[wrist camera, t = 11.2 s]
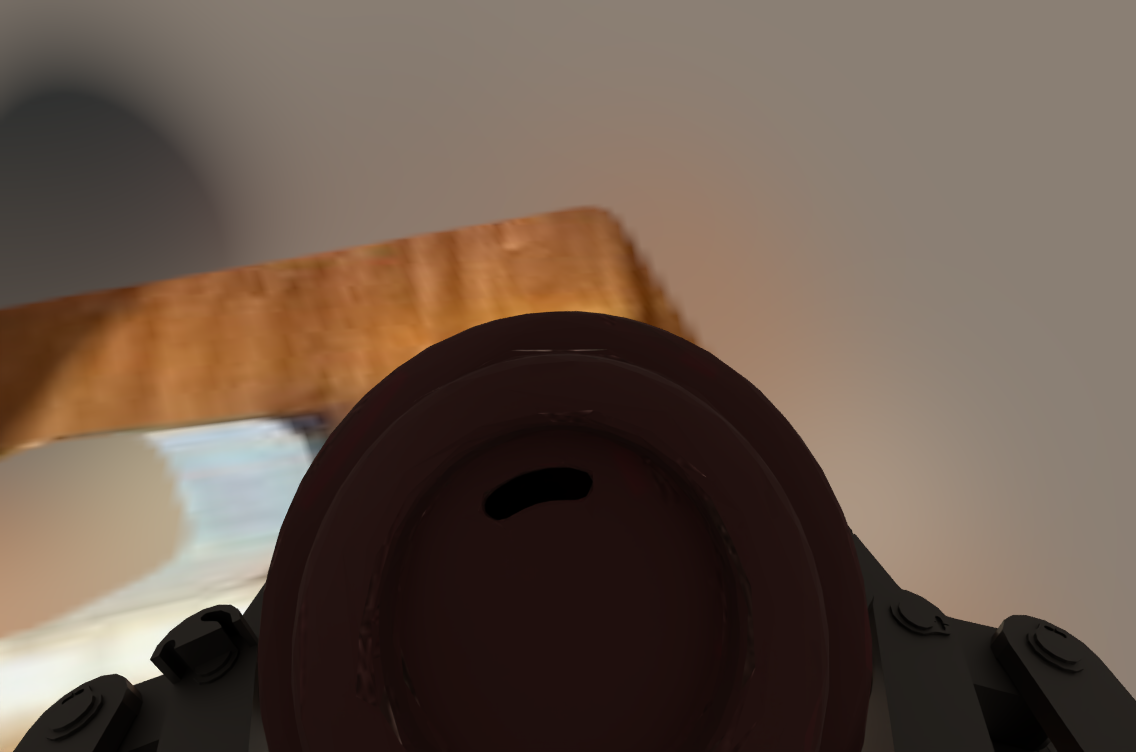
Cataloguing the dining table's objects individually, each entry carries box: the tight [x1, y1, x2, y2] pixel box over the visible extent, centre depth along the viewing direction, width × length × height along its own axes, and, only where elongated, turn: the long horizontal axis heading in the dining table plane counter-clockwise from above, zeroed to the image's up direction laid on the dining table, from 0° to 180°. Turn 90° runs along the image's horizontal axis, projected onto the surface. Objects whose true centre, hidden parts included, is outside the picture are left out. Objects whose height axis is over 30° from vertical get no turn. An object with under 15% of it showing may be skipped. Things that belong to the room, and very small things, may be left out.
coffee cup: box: [257, 311, 872, 752], centre depth 12 cm, size 10×10×15 cm
